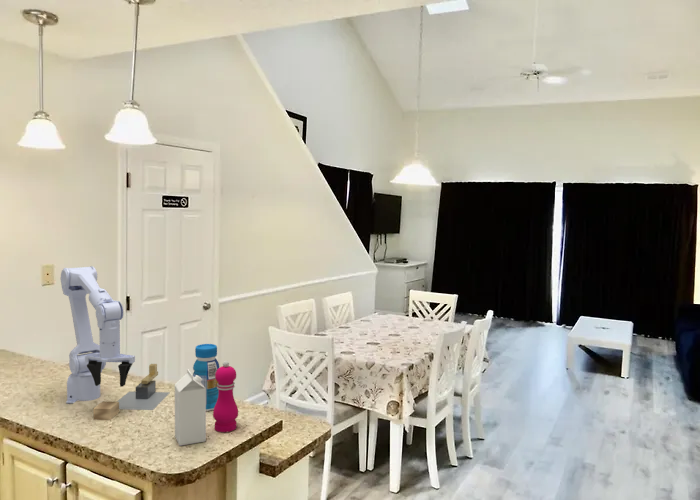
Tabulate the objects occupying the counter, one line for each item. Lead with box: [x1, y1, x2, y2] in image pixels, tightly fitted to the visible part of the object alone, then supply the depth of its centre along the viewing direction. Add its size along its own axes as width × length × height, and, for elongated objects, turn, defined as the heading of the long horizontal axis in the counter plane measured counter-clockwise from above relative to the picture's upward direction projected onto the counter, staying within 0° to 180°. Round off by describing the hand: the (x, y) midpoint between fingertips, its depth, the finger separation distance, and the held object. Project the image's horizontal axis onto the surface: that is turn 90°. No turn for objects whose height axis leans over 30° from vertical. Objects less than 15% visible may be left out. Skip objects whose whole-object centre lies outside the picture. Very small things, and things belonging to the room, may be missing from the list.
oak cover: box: [93, 401, 120, 421], centre depth 163 cm, size 5×6×4 cm
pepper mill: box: [212, 360, 239, 433], centre depth 158 cm, size 7×7×20 cm
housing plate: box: [116, 380, 171, 411], centre depth 177 cm, size 14×16×5 cm
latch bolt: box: [140, 363, 159, 384], centre depth 185 cm, size 2×10×4 cm, turn 0°
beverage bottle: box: [192, 343, 220, 412], centre depth 174 cm, size 8×8×20 cm
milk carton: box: [174, 368, 207, 447], centre depth 150 cm, size 7×7×19 cm
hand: (110, 385), depth 166 cm, fingers open, 7 cm apart
